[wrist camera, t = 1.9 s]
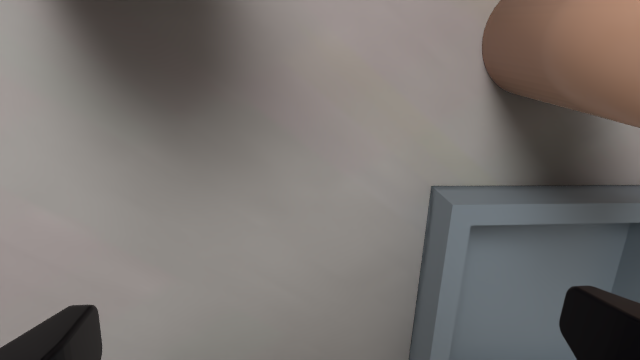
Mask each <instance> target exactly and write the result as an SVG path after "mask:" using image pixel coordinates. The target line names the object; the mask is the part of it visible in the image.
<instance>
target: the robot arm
mask: <svg viewBox="0 0 640 360" xmlns="http://www.w3.org/2000/svg"><path fill="white" fill-rule="evenodd" d="M559 327H560V331H561V334H562V336H563V337H564V339H565V341H566V342H567V344H568V346H569V347H570V349H571V351H572V352H573V354H574V356H575V357H576V359H577V360H640V303H638V302H635V301H632V300H630V299H627V298H624V297H621V296H619V295H616V294H613V293H610V292H607V291H605V290H602V289H599V288H596V287H594V286H588V285H587V286H572V287H570V288H569V289H568V290H567V292H566V295H565V299H564V303H563V307H562V311H561V315H560V319H559ZM101 355H102V339H101V331H100V323H99V314H98V310H97V308H96V307H95V306H94V305H72V306H69V307H67V308H65V309H64V310H62V311H60V312H59V313H57V314H55V315H54V316H52V317H50V318H49V319H47V320H46V321H44V322H42V323H41V324H39V325H37V326H36V327H34V328H32V329H31V330H29V331H27V332H26V333H24V334H23V335H21V336H19V337H18V338H16V339H14V340H13V341H11V342H9V343H8V344H6V345H4V346H3V347H1V348H0V360H101Z"/></svg>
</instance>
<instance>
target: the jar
mask: <svg viewBox="0 0 640 360" xmlns="http://www.w3.org/2000/svg"><path fill="white" fill-rule="evenodd" d="M482 54H483V60H484V64H485V67H486V69H487V72H488V74H489V75H490V77H491V78H492V80H493V81H494V82H495V83H496V84H497V85H498V86H499V87H500V88H502V89H504V90H505V91H507V92H510V93H512V94H516V95H520V96H523V97H527V98H531V99H535V100H538V101H542V102H546V103H549V104H553V105H557V106H561V107H564V108H568V109H572V110H575V111H579V112H583V113H587V114H590V115H594V116H598V117H601V118H605V119H609V120H613V121H616V122H620V123H624V124H627V125H631V126H635V127H639V128H640V0H501V1H500V2H499V3H498V4H497V6H496V7H495V8H494V10H493V12H492V13H491V15H490V17H489V19H488V21H487V24H486V27H485V30H484V35H483V41H482Z"/></svg>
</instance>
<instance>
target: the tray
mask: <svg viewBox="0 0 640 360" xmlns="http://www.w3.org/2000/svg"><path fill="white" fill-rule="evenodd" d="M587 285H588V286H594V287H596V288H599V289H602V290H605V291H607V292H610V293H613V294H616V295H619V296H621V297H624V298H627V299H630V300H632V301H635V302H638V303H640V185H587V186H431V194H430V202H429V209H428V217H427V225H426V232H425V240H424V248H423V255H422V263H421V271H420V278H419V286H418V294H417V301H416V309H415V317H414V324H413V332H412V340H411V347H410V355H409V360H577V359H576V357H575V356H574V354H573V352H572V351H571V349H570V347H569V346H568V344H567V342H566V341H565V339H564V337H563V336H562V334H561V331H560V327H559V319H560V315H561V311H562V307H563V303H564V299H565V295H566V292H567V290H568V289H569V288H570V287H572V286H587Z"/></svg>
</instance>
